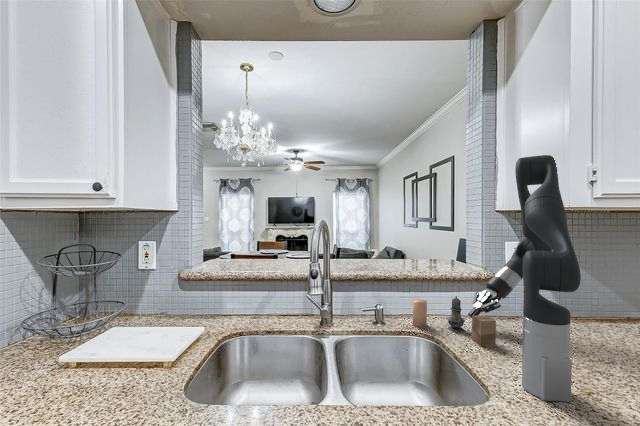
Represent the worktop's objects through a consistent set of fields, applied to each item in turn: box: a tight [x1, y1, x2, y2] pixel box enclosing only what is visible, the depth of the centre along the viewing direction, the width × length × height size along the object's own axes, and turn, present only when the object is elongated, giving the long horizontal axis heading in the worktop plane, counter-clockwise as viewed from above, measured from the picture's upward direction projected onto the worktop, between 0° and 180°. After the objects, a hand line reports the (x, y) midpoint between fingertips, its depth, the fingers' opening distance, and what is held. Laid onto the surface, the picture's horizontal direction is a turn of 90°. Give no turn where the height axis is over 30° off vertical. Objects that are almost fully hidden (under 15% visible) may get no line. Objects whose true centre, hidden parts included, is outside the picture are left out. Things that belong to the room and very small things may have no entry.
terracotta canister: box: [412, 298, 428, 329], centre depth 120 cm, size 5×5×9 cm
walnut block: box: [471, 314, 497, 347], centre depth 105 cm, size 5×5×8 cm
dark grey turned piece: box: [447, 295, 466, 333], centre depth 116 cm, size 6×6×12 cm
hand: (470, 316), depth 117 cm, fingers closed
